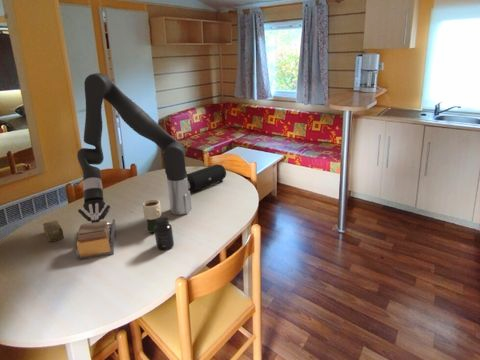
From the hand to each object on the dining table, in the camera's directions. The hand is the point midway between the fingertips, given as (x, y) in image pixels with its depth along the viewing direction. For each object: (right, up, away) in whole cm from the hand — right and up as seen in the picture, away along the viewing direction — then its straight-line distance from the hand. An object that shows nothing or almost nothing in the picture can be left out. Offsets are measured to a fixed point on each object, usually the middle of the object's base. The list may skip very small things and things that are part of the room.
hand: (96, 229), depth 140 cm
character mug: (+22, -2, +9) cm, 24 cm away
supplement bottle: (+29, -6, -3) cm, 30 cm away
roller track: (0, -5, +2) cm, 5 cm away
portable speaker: (+39, +17, +53) cm, 68 cm away
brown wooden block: (+2, -4, -5) cm, 6 cm away
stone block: (-21, -4, +7) cm, 22 cm away
